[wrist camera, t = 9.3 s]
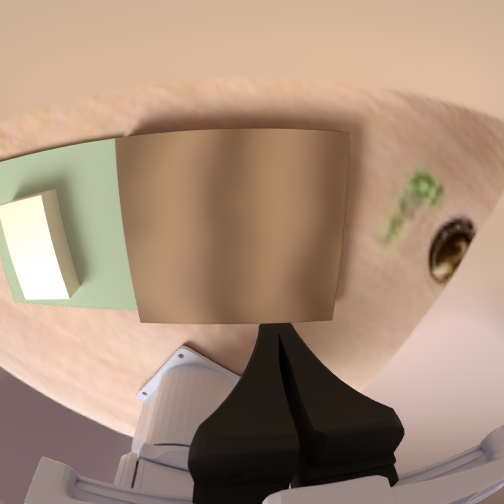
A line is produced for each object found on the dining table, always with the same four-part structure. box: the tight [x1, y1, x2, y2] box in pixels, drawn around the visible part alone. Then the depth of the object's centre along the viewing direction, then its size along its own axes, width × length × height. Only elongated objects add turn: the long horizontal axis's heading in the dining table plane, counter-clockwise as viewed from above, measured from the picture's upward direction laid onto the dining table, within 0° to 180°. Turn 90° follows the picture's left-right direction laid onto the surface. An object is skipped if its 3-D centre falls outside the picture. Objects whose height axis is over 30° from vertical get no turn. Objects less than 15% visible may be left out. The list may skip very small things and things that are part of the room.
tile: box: [0, 189, 80, 299], centre depth 19 cm, size 5×8×2 cm, turn 4°
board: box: [115, 128, 349, 324], centre depth 20 cm, size 14×13×2 cm
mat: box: [0, 138, 138, 310], centre depth 20 cm, size 14×13×1 cm
